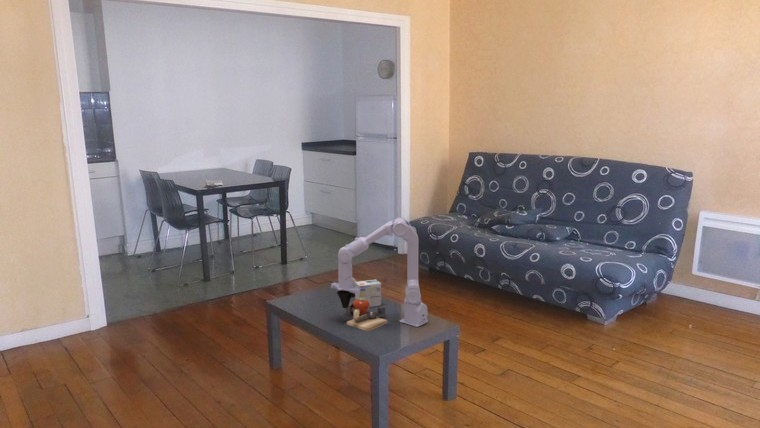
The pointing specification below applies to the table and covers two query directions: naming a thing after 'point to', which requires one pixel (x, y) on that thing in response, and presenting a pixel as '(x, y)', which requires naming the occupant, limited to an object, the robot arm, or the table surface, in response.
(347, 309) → the anvil
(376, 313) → the lever
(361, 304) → the tomato
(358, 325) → the board
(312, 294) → the table surface
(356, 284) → the light bulb box
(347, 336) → the table surface
